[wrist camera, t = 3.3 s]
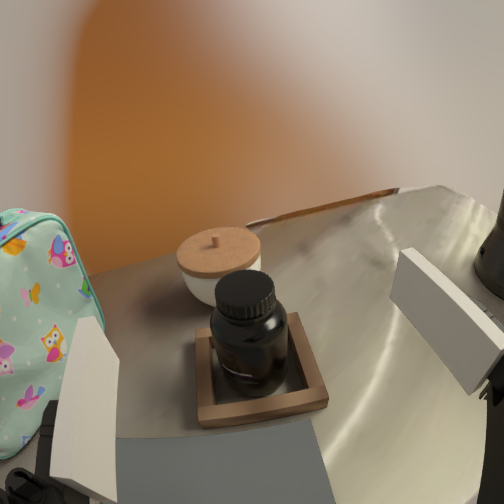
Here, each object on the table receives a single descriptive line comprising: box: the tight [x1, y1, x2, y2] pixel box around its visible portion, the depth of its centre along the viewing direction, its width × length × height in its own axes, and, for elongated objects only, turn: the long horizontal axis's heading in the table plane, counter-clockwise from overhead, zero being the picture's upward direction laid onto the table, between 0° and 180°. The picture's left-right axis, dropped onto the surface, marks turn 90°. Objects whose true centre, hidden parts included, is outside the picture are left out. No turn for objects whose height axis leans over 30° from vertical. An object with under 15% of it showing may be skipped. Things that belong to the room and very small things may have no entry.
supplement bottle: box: [210, 269, 288, 397], centre depth 27 cm, size 7×7×12 cm
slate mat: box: [102, 418, 336, 504], centre depth 18 cm, size 20×14×1 cm
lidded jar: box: [176, 227, 261, 307], centre depth 39 cm, size 11×11×9 cm
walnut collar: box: [195, 312, 329, 429], centre depth 29 cm, size 12×12×2 cm
